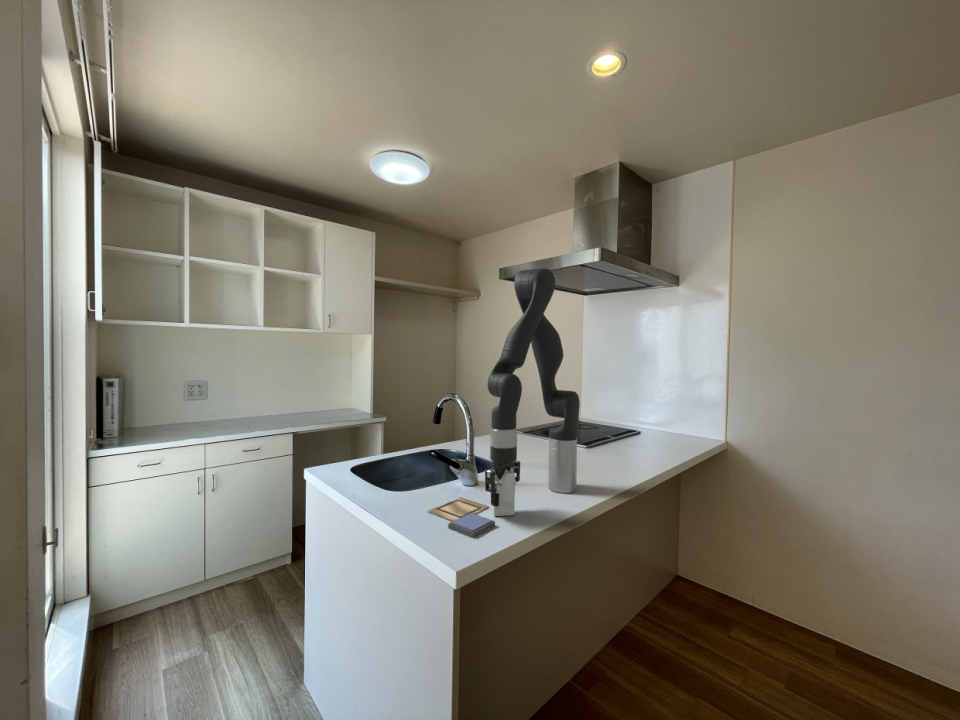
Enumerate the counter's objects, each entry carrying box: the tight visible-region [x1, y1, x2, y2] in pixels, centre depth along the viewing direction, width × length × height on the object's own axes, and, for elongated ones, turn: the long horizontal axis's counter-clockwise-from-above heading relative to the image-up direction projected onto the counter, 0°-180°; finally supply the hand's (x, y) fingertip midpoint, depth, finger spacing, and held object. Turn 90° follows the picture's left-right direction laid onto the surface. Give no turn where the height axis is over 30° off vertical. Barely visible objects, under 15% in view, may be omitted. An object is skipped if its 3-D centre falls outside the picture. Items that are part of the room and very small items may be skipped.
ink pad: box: [447, 513, 496, 539], centre depth 102 cm, size 9×8×2 cm
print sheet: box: [427, 496, 490, 522], centre depth 113 cm, size 14×11×1 cm
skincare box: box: [491, 471, 516, 517], centre depth 110 cm, size 6×4×12 cm
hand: (503, 501), depth 111 cm, fingers closed on skincare box, 7 cm apart
